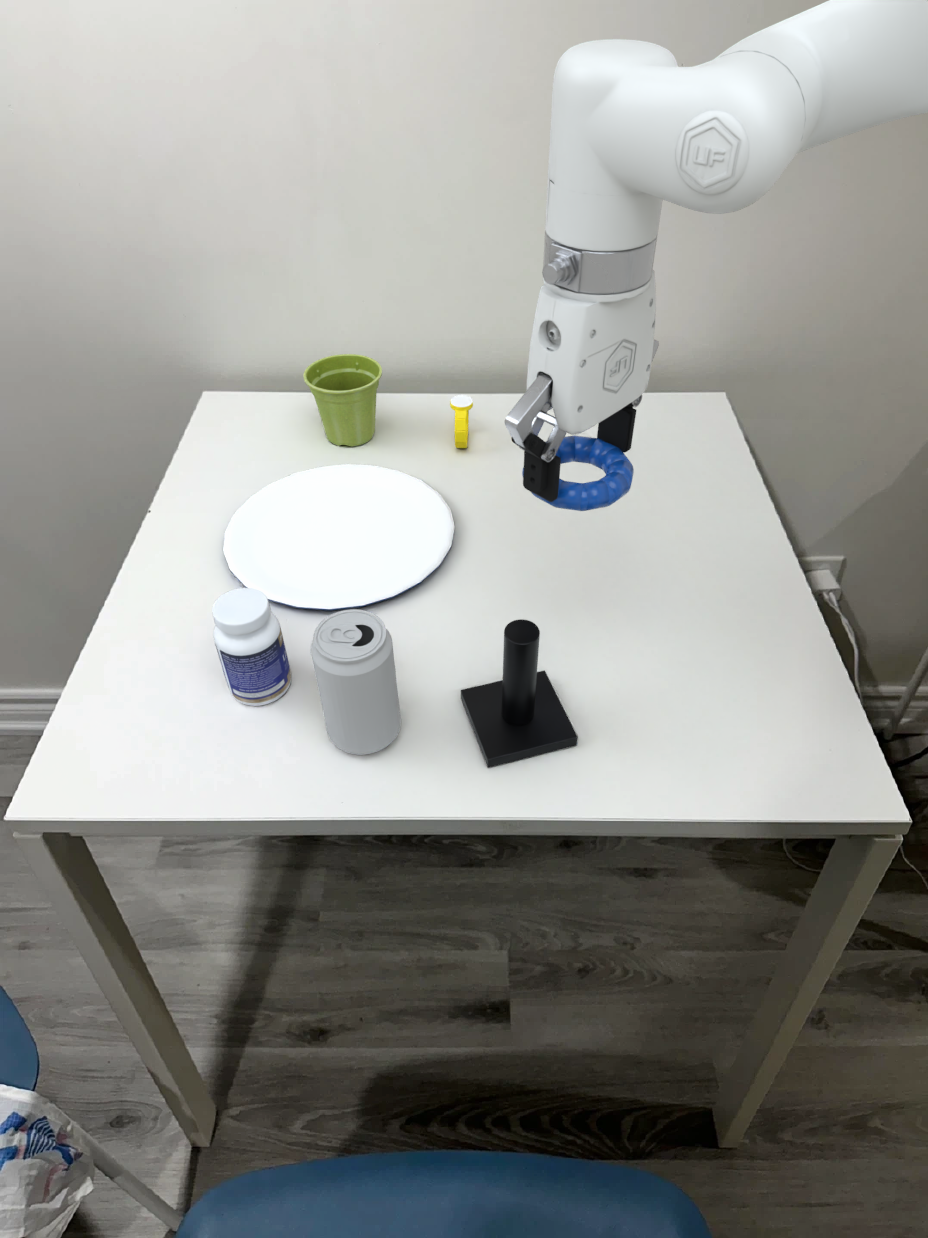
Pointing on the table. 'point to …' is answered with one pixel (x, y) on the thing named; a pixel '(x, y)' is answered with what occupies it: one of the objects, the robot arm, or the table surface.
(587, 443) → the ring
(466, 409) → the watch
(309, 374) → the plant pot
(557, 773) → the table surface
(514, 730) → the peg stand
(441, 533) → the plate
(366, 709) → the beverage can
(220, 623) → the pill bottle
